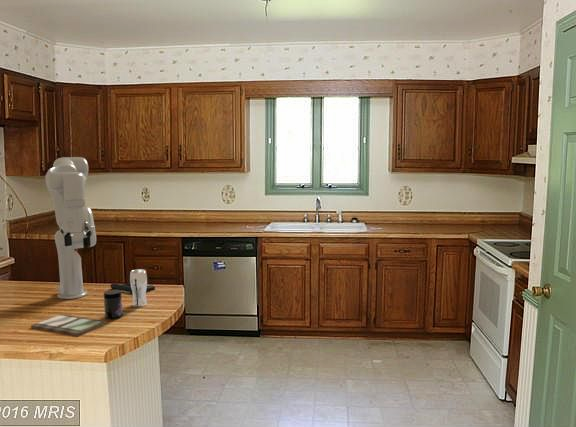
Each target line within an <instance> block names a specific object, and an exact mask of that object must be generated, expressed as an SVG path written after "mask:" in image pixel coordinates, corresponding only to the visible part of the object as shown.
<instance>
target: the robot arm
mask: <svg viewBox="0 0 576 427" xmlns="http://www.w3.org/2000/svg"><path fill="white" fill-rule="evenodd" d="M88 175H89V164H88V160H86V158H84V157H82V156H81V157H80V156H73V157H72V156H71V157H68V156H67V157H65V156H62V157H59V158H57V159H55V160H54V162H53V164H52V167H51V168H49V169H48V170H47V172H46V173H45V185H46V188H47V191H48V193H49V195H50V196H51V198H52V200H53V206H54V214H55V221H56V224H57V226H58V228H59V230H57V231H56V233H55V234H54V241H55V246H56V251H57V257H58V270H59V271H58V272H59V284H58V286H57V287H56V288H55V290H56V291H58V292H59V293H57V298H58V299H61V300H72V299H73V300H74V299H79V298H81V297H85V296H87V294H88V291H87V289H84V285H83V284H84V283H83V281H84V280H83V268H82V257H81V255H80V253H78V252H77V251H76V249H83V248H84V249H85V248H91V247H94V246H95V245H96V244H97V233H96V232H97V231H96V226H95V221H94V213H93V212H92V209H91V208H90V206H86V198H85V187H86V185H87V182H88Z"/></svg>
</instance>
